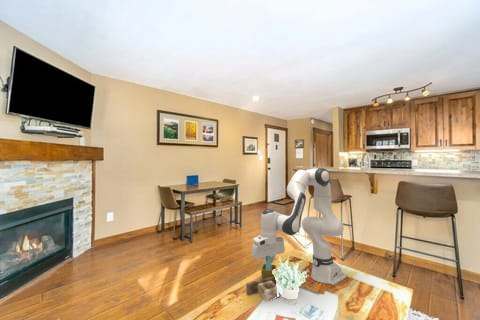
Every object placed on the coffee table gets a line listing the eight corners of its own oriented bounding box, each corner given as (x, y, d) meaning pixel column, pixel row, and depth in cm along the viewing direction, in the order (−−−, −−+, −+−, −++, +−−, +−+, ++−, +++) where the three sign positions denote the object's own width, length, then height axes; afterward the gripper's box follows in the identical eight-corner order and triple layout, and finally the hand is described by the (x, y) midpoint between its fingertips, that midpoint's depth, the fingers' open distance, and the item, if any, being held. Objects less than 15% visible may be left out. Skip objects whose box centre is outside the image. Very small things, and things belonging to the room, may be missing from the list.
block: (271, 288, 132) (271, 280, 132) (279, 297, 124) (279, 288, 124) (257, 292, 128) (257, 283, 128) (266, 301, 120) (266, 291, 120)
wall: (278, 284, 136) (278, 275, 137) (280, 286, 135) (280, 276, 135) (246, 293, 127) (246, 283, 127) (247, 295, 125) (247, 284, 126)
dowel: (269, 267, 128) (269, 251, 128) (272, 270, 125) (272, 253, 126) (264, 268, 127) (264, 252, 127) (267, 271, 124) (267, 254, 124)
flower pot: (276, 278, 144) (276, 264, 144) (275, 285, 135) (275, 271, 135) (263, 277, 146) (263, 263, 146) (261, 283, 138) (260, 269, 138)
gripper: (280, 234, 134) (280, 257, 133) (250, 239, 125) (250, 264, 125) (286, 237, 128) (287, 261, 128) (255, 242, 119) (255, 268, 119)
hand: (268, 263), depth 126 cm, fingers closed on dowel, 3 cm apart
